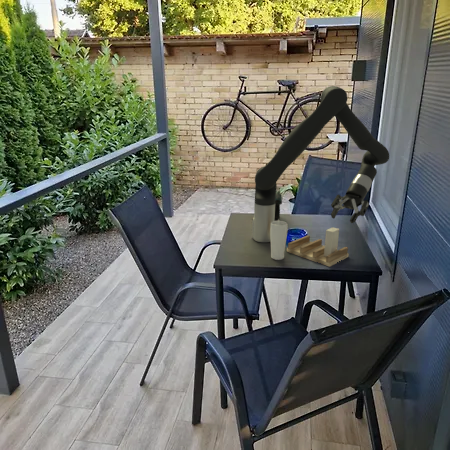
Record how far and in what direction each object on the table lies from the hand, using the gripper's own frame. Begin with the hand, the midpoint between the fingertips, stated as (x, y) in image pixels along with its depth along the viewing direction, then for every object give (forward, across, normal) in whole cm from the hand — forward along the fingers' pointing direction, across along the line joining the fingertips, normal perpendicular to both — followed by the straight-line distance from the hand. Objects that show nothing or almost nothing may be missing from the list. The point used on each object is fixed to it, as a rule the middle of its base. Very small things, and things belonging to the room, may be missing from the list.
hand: (341, 219), depth 159 cm
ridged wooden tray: (+15, -6, +6) cm, 18 cm away
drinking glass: (+26, -15, -4) cm, 30 cm away
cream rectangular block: (+14, 0, +5) cm, 15 cm away
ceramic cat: (0, -48, +22) cm, 53 cm away
